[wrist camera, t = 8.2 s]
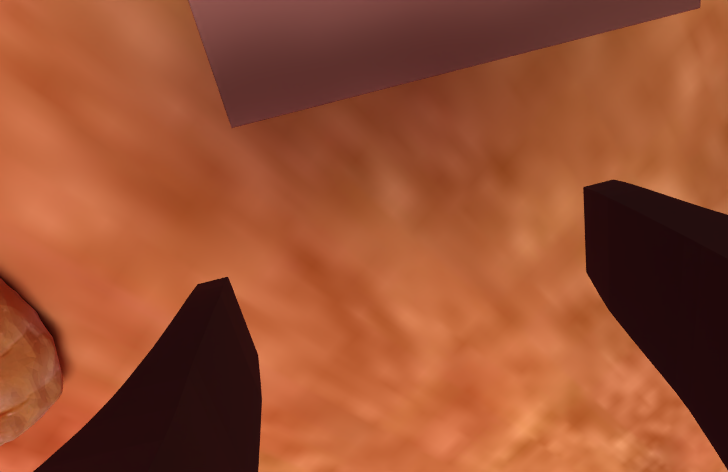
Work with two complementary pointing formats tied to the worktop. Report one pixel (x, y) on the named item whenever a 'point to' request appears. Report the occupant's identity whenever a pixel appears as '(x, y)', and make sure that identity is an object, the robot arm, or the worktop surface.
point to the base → (382, 42)
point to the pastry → (24, 366)
